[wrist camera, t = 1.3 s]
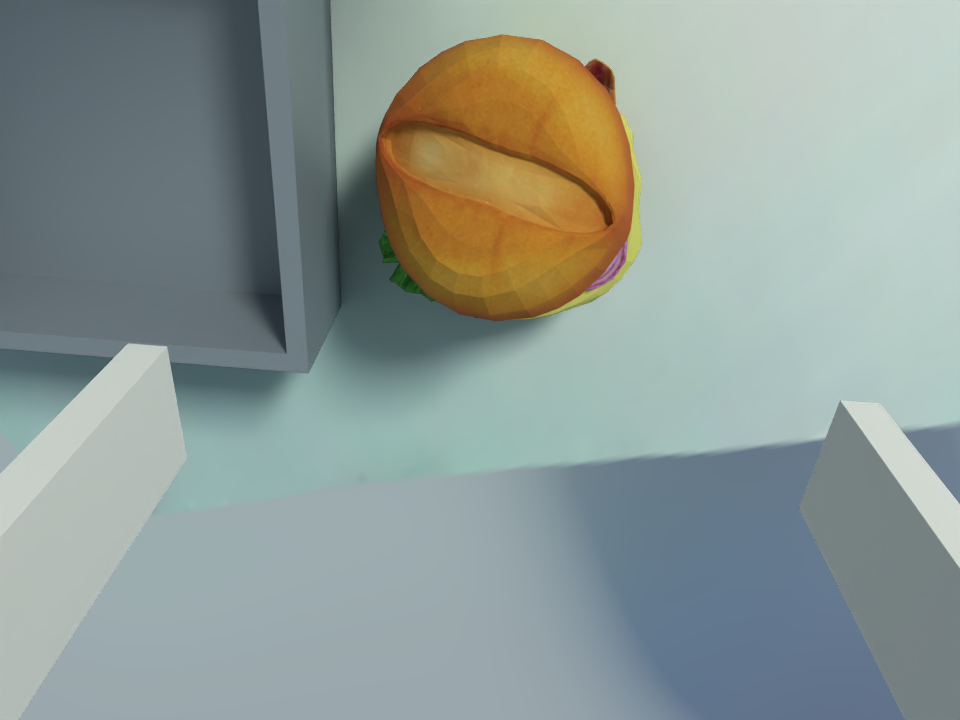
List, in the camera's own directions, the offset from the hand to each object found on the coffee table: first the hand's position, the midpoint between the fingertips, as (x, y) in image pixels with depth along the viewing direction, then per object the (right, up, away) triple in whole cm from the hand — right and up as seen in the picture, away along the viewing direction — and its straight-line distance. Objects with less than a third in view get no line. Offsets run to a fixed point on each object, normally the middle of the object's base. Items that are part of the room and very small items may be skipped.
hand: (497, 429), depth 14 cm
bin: (-15, +12, +14) cm, 24 cm away
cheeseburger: (+1, +9, +16) cm, 18 cm away
